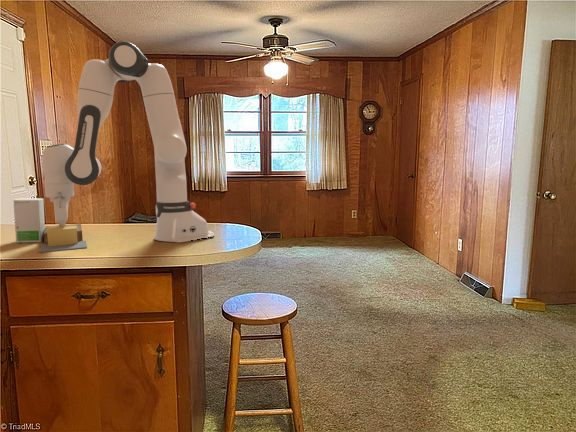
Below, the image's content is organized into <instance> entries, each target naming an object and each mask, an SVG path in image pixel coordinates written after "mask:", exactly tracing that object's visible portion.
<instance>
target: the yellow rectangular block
mask: <svg viewBox="0 0 576 432" xmlns="http://www.w3.org/2000/svg"><path fill="white" fill-rule="evenodd" d="M47 238H48V246H57V245H68V244H78V240H77V227H76V226H69V227H55V228H47Z"/></svg>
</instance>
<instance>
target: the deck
mask: <svg viewBox="0 0 576 432" xmlns="http://www.w3.org/2000/svg"><path fill="white" fill-rule="evenodd" d="M69 226H76V227H77V240H78V241H84V240H83V238H84V237H83V229H82V224H81V223H76V224H66V227H69ZM55 227H60V226H59V224H57V225H48V226H47V225H45V231H44V240H43V241H44V244H48V238H47V228H55Z"/></svg>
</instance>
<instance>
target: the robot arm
mask: <svg viewBox="0 0 576 432" xmlns="http://www.w3.org/2000/svg"><path fill="white" fill-rule="evenodd" d="M135 81H136V82H137V84H138V85H139V87H140V91H141V95H142V100H143V104H144V105H143V106H144V108H145V114H146V119H147V122H148V126H149V130H150V135H151V138H152V139H151V140H152V143H153V149H154V150H153V151H154V169H155V170H154V171H155V185H156V186H155V188H156V192H155V193H156V201H155V216H156V226H155V233H154V236H153V237H154V238H153V239H154V240H155V241H158V242H172V243H184V242H185V243H186V242H192V241H191V240H193V241H198V240H197V239H200V240H202V239H201V238H207V239H209V238H208V237H213V236H214V237H215V233H214V232H213V231H212V230H209V226H208V222H207V220H206V219H205V218H204V217H203V216H201V215H199V213H197V212H195V211H194V210H193V209H196V206H197V204H196V203H195V202H191V201H189V200H188V190H187V189H188V188H187V185H188V184H187V174H186V173H187V172H186V161H185V158H186V156H187V153H188V150H187V149H188V148H187V143H186V139H185V134H184V130H183V127H182V123H181V120H180V115H179V109H178V106H177V101H176V97H175V92H174V87H173V84H172V81H171V78H170V75H169V73H168V70H167V68H166V67H165V66H164V65H163V64H159V63H156V62H155V63H154V62H153V63H151V62H150V63H149V59H148V58H147V57H146V56H145V55H144V54H143V52H142V51H141V50H140V48H138V47H137V46H136V45H135V44H133V43H132V42H128V41H118V42H116V43H114V44H113V45H112V46H111V47H110V49H109V51H108V58H106V59H104V60H102V59H98V58H97V59H95V58H94V59H89V60H87V61H86V62H84V65H83V68H82V71H81V75H80V78H79V83H78V89H77V117H78V118H77V119H78V123H77V131H76V136H75V142H74V148H73V147H72V146H70V145H69V144H67V143H59V144H58V143H57V144H53V145H52V144H51V145H48V146H46V147H45V148H44V149H43V151H42V171H43V173H44V178H45V179H44V194H45V195H44V196H45V198H49V201H50V203H53V211H54V220H55V222H56V223H58V225H59V226H60V227H66V225H67V223H66V222H68V220H69V219H68V217H69V202H71V199H72V198H71V197H75V185H78V186H86V185H87V186H88V185H91V184H92V183H94V182H95V181H96V180H97V178H98V177H100V175H101V173H102V169H103V168H102V166H103V165H102V162H101V161H100V159H98V158H97V156H96V150H97V145H98V144H97V143H98V138H99V133H100V132H99V131H100V129H101V126H102V125H103V123H104V122H105V120H106V119H107V118H108V117H109V115H110V113H111V110H112V106H113V102H114V94H115V87H116V84H117V83H130V82H135ZM214 237H213V238H214Z"/></svg>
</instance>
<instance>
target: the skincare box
mask: <svg viewBox="0 0 576 432" xmlns="http://www.w3.org/2000/svg"><path fill="white" fill-rule="evenodd" d="M44 202H45V201H44V198H39V197H36V198H35V197H34V198H33V197H30V198H29V197H28V198H27V197H20V198H15V199H13V213H14V216H13V217H14V229H15V230H14V231H15V243H20V242H21V243H41V242H43V241H44V231H45V228H46V225H45V222H46V221H45V207H44V206H45V203H44Z"/></svg>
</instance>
